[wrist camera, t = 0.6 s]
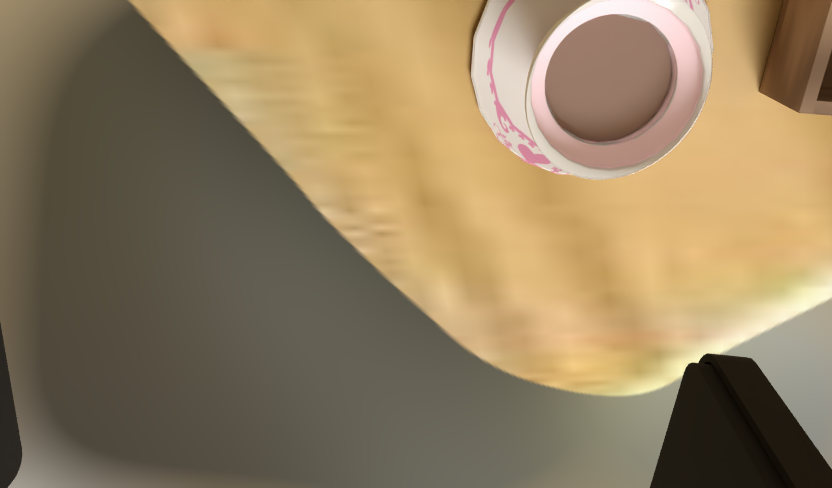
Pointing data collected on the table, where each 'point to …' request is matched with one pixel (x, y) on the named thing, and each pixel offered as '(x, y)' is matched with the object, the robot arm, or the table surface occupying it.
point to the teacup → (592, 80)
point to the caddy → (801, 58)
